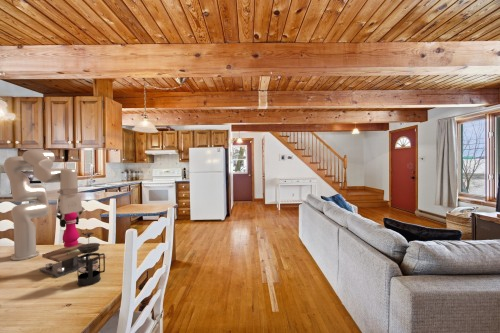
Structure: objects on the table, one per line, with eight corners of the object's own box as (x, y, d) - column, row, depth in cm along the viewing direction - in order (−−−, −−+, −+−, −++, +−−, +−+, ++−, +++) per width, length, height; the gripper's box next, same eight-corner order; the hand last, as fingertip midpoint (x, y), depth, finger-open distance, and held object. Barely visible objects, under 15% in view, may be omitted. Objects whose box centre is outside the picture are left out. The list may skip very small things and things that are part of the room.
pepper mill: (70, 247, 126) (69, 209, 126) (59, 247, 127) (58, 209, 127) (82, 243, 133) (81, 207, 133) (71, 242, 134) (70, 206, 134)
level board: (42, 257, 126) (42, 252, 126) (79, 245, 142) (78, 241, 142) (58, 262, 119) (58, 257, 119) (95, 249, 136) (95, 244, 136)
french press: (76, 289, 108) (75, 237, 108) (74, 281, 115) (73, 233, 115) (106, 280, 116) (106, 232, 115) (102, 273, 123) (102, 228, 122)
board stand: (39, 271, 125) (39, 259, 125) (80, 257, 143) (80, 246, 143) (57, 277, 118) (56, 264, 118) (97, 262, 137) (97, 251, 136)
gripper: (54, 194, 121) (55, 230, 121) (89, 190, 136) (90, 222, 137) (46, 193, 124) (46, 228, 124) (81, 190, 140) (82, 221, 140)
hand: (69, 225), depth 131 cm, fingers closed on pepper mill, 5 cm apart
